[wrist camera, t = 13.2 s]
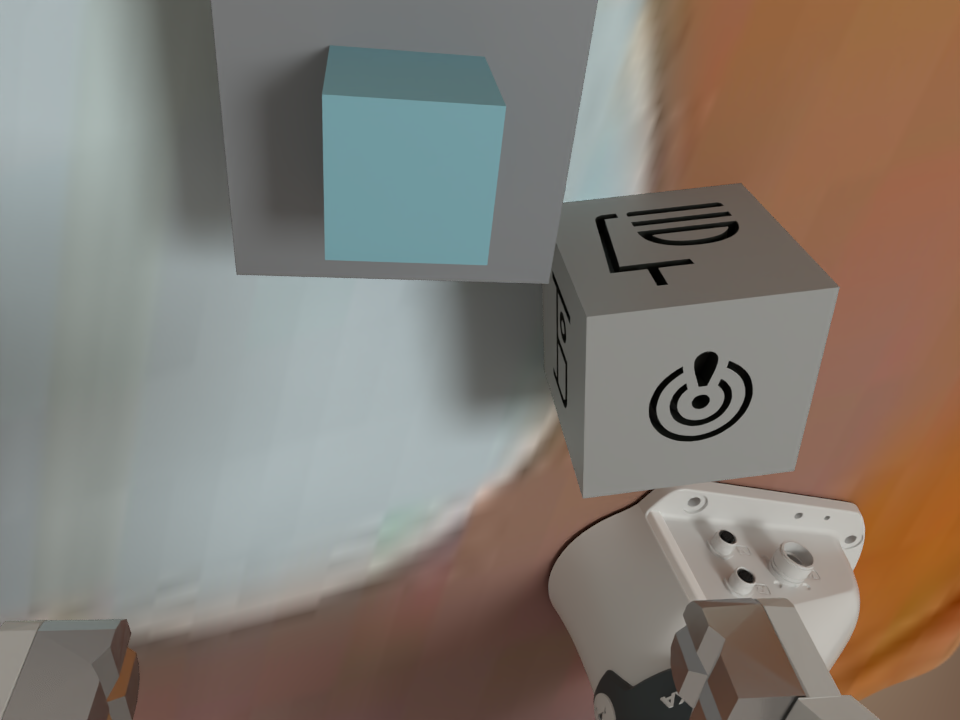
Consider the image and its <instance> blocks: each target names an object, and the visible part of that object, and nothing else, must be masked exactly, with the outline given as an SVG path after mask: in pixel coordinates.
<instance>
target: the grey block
mask: <svg viewBox="0 0 960 720" xmlns="http://www.w3.org/2000/svg"><path fill="white" fill-rule="evenodd" d="M597 3H598V0H211V8H212V19H213V29H214V40H215V51H216V61H217V72H218V82H219V93H220V104H221V114H222V125H223V136H224V146H225V157H226V167H227V178H228V189H229V199H230V210H231V220H232V231H233V242H234V252H235V263H236V274H237V275H265V276H299V277H333V278H367V279H401V280H435V281H469V282H503V283H537V284H549V279H550V273H551V267H552V261H553V256H554V250H555V244H556V238H557V233H558V227H559V221H560V215H561V210H562V204H563V198H564V192H565V187H566V181H567V175H568V169H569V164H570V158H571V152H572V146H573V141H574V135H575V129H576V123H577V118H578V112H579V106H580V101H581V95H582V89H583V83H584V78H585V72H586V66H587V60H588V55H589V49H590V43H591V37H592V32H593V26H594V20H595V14H596V9H597ZM330 45H333V46H346V47H360V48H373V49H387V50H400V51H414V52H427V53H441V54H454V55H468V56H482V57H485V58H486V61H487V63H488V65H489V68H490V70H491V72H492V75H493V77H494V79H495V81H496V84H497V86H498V88H499V91H500V93H501V95H502V98H503V100H504V102H505V105H506V112H505V121H504V129H503V138H502V146H501V154H500V163H499V171H498V179H497V188H496V196H495V205H494V213H493V221H492V230H491V238H490V246H489V255H488V263H487V265H462V264H431V263H401V262H371V261H340V260H325V233H324V177H323V122H322V91H323V85H324V79H325V72H326V66H327V60H328V53H329V47H330Z"/></svg>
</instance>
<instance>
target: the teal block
mask: <svg viewBox="0 0 960 720" xmlns="http://www.w3.org/2000/svg"><path fill="white" fill-rule="evenodd" d="M505 112H506V105H505V102H504V100H503V98H502V95H501V93H500V91H499V88H498V86H497V84H496V81H495V79H494V77H493V75H492V72H491V70H490V68H489V65H488V63H487V61H486V58H485V57H482V56H468V55H454V54H441V53H427V52H414V51H400V50H387V49H373V48H360V47H346V46H333V45H330V47H329V53H328V60H327V66H326V72H325V79H324V85H323V91H322V122H323V177H324V233H325V260H340V261H371V262H401V263H431V264H462V265H487V263H488V255H489V246H490V238H491V230H492V221H493V213H494V205H495V196H496V188H497V179H498V171H499V163H500V154H501V146H502V138H503V129H504V121H505Z"/></svg>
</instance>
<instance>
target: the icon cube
mask: <svg viewBox="0 0 960 720" xmlns="http://www.w3.org/2000/svg"><path fill="white" fill-rule="evenodd" d="M838 291H839V286H838V285H837V284H836V283H835V282H834V281H833V280H832V279H831V278H830V277H829V276H828V274H827V273H826V272H825V271H824V270H823V269H822V268H821V267H820V266H819V265H818V264H817V263H816V262H815V261H814V260H813V259H812V258H811V257H810V255H809V254H808V253H807V252H806V251H805V250H804V249H803V248H802V247H801V246H800V245H799V244H798V243H797V242H796V241H795V240H794V239H793V237H792V236H791V235H790V234H789V233H788V232H787V231H786V230H785V229H784V228H783V227H782V226H781V225H780V224H779V223H778V222H777V221H776V220H775V218H774V217H773V216H772V215H771V214H770V213H769V212H768V211H767V210H766V209H765V208H764V207H763V206H762V205H761V204H760V203H759V202H758V201H757V199H756V198H755V197H754V196H753V195H752V194H751V193H750V192H749V191H748V190H747V189H746V188H745V187H744V186H743V185H742V184H741V183H739V184H729V185H720V186H711V187H702V188H693V189H684V190H675V191H666V192H657V193H648V194H639V195H630V196H620V197H611V198H602V199H593V200H584V201H575V202H566V203H563V204H562V210H561V215H560V221H559V227H558V233H557V238H556V244H555V250H554V256H553V261H552V267H551V273H550V279H549V284H542V295H543V347H544V371H545V374H546V377H547V381H548V384H549V387H550V391H551V394H552V397H553V400H554V404H555V407H556V410H557V414H558V417H559V420H560V424H561V427H562V430H563V434H564V437H565V440H566V444H567V447H568V450H569V454H570V457H571V460H572V464H573V467H574V470H575V474H576V477H577V480H578V484H579V487H580V490H581V494H582V497H583V498H590V497H598V496H605V495H613V494H621V493H628V492H636V491H644V490H651V489H659V488H667V487H674V486H682V485H690V484H697V483H705V482H713V481H720V480H728V479H736V478H743V477H751V476H759V475H766V474H774V473H782V472H789V471H794V469H795V465H796V461H797V457H798V453H799V449H800V445H801V441H802V437H803V433H804V429H805V425H806V421H807V417H808V413H809V409H810V405H811V400H812V396H813V392H814V388H815V384H816V380H817V376H818V372H819V368H820V364H821V360H822V356H823V352H824V348H825V344H826V340H827V336H828V332H829V328H830V324H831V320H832V316H833V312H834V307H835V303H836V299H837V295H838Z"/></svg>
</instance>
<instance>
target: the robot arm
mask: <svg viewBox="0 0 960 720" xmlns="http://www.w3.org/2000/svg"><path fill="white" fill-rule="evenodd" d="M864 538H865V525H864V521H863V517H862V515H861V513H860V511H859V509H858V507H857V506H856V505H855V504H853V503H849V502H844V501H837V500H831V499H824V498H817V497H810V496H803V495H797V494H790V493H783V492H776V491H769V490H763V489H756V488H749V487H742V486H735V485H729V484H722V483H715V482H705V483H697V484H690V485H682V486H674V487H667V488H659V489H654V490H653V491H652V492H651V493H649V494H648V495H647V496H646V497H645V498H644V499H642V500H641V501H640V502H639V503H638V504H636V505H634V506H633V507H631V508H629V509H627V510H625V511H622V512H620V513H618V514H616V515H613V516H611V517H609V518H607V519H605V520H603V521H601V522H599V523H597V524H596V525H594V526H592V527H591V528H589V529H588V530H586V531H585V532H583V533H582V534H581V535H580V536H578V537H577V538H576V539H575V540H574V541H573V542H571V543H570V544H569V545H568V546H567V548H566V549H565V550H564V551H563V552H562V554H561V555H560V556H559V558H558V559H557V561H556V563H555V564H554V566H553V569H552V571H551V574H550V577H549V583H548V592H549V597H550V601H551V603H552V605H553V607H554V609H555V610H556V612H557V613H558V615H559V616H560V618H561V620H562V621H563V623H564V625H565V627H566V628H567V630H568V632H569V634H570V636H571V638H572V640H573V642H574V644H575V647H576V649H577V651H578V654H579V656H580V658H581V660H582V663H583V665H584V668H585V671H586V673H587V676H588V678H589V681H590V684H591V687H592V690H593V693H594V713H595V720H880V719H879V718H878V717H877V716H876V715H874V714H873V713H872V712H870V711H869V710H868V709H867V708H866V707H864V706H863V705H862V704H861V703H860V702H858V701H857V700H856V699H855V698H853V697H852V696H851V695H841V694H840V692H839V690H838V688H837V686H836V684H835V682H834V680H833V678H832V677H831V675H830V673H829V671H830V669H831V668H832V666H833V665H834V663H835V662H836V660H837V659H838V657H839V656H840V654H841V652H842V651H843V649H844V648H845V646H846V644H847V642H848V641H849V639H850V637H851V635H852V633H853V631H854V629H855V626H856V623H857V620H858V615H859V610H860V595H859V589H858V585H857V582H856V579H855V576H854V573H853V570H854V568H855V566H856V564H857V561H858V559H859V557H860V554H861V551H862V548H863V544H864ZM130 636H131V631H130V628H129V625H128V622H127V619H108V620H49V621H48V620H35V621H5V622H4V623H3V624H2V626H1V627H0V720H133V717H134V712H135V708H136V704H137V699H138V690H139V681H140V673H139V662H138V658H137V654H136V652H134V651H132V650H131V649H129V648H128V643H129V640H130Z"/></svg>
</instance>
